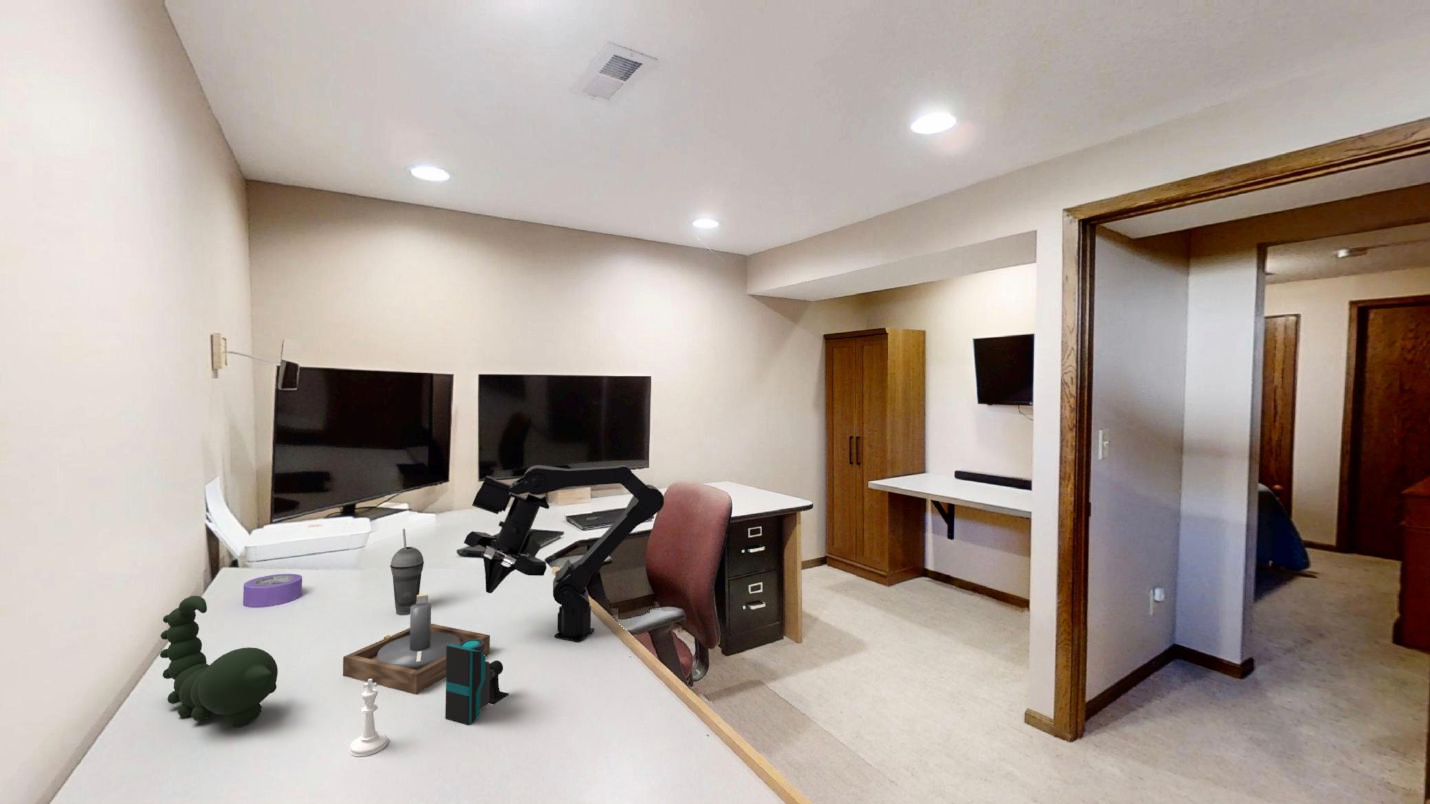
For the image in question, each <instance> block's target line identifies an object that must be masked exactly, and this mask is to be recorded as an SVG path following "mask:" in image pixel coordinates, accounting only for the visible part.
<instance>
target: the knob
mask: <svg viewBox="0 0 1430 804" xmlns="http://www.w3.org/2000/svg"><path fill="white" fill-rule="evenodd" d="M409 617H410V618H409V624H410V625H409V628H410V635H409V636H406V637H402V638H399V639H397V640H394V641H392V642H390V643H388V644H386V645H385V646H383V647H382V648H381V649H380V650H379V651H378V654H377V661H380V662H384V663H389V664H393V665H397V666H401V667H405V668H410V669H414V670H419V669H420V668H422V667H424V666H426V665H428V664H430V663H432V662H434V661H436V660H438V659H439V658H441V657H443V656H445V655H446V645H448V644H453V645H458V646H459V644H460V638H459V637H458V636H456V635H454V634H451V633H445V632H431V624H432V604H431V603H430V602H429V594H428V593H422V594H421V593H420V594H419V595H417V602H416V604H415V605H413V606H411V607H410V614H409Z"/></svg>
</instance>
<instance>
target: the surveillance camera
mask: <svg viewBox="0 0 1430 804" xmlns="http://www.w3.org/2000/svg"><path fill="white" fill-rule="evenodd" d="M503 670H504V665H503V663H502V662H501V661H500V660H493V661H492V662H489V661H487V660H486V655H484V641H483V640H481V639H470V640H466V641H463V642H462V643H460V644H459V646H458V645H453V644H448V645H446V678H445V713H444V714H445V716H444V718H445V720H447V721H452V722H454V723H458V724H460V725H461V724H462V725H464V726H471V725H472V724H473V723H475V721H477V720H478V718H479V717H480V716H481V710H482V709H483V708H485V707H486V706H488V705H489V704H490V705H494V706H495V705H496V704H497V703H499V702H500V701H501V700H503V699H505V698H506V697H507V696H509V693H508V692H506V691H505V692H504V691H502V690H501V689H500V685H499V675H501V674H502V673H503Z"/></svg>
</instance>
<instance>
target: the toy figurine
mask: <svg viewBox="0 0 1430 804" xmlns="http://www.w3.org/2000/svg"><path fill="white" fill-rule="evenodd" d="M207 605H208V604H207V602H206V600H205V598H203V597H202V596H199V595H190V596H188V597H185V598H184V599H182V600H181V601H180V602H179V605H178V607H177V608H174V609H173V610H171V612H170V613H169V614H166V615H164V616H163V618H162V621H163V622H164V623H165V624H167V625H168V626H169V628H168V629H167V630H165V629H164V631H163V632H161V634H160V638H161V639H162V640H166V641H168V642H169V643H170V644H169V645H168V648H166V649H165V648H164V649H163V650H161V651H160V654H159V657H160V658H161V659H169V661H170V663H169V664H168V667H167V668H166V669H164V670H163V673H162V678H164V679H166V680H170V679H172V680H174V681H173V691H171V693H169V694H168V696H167V702H168V704H171V705H175V704H179V703H181V705H179V708H178V710H177V714H178V716H179V717H182V718H183V717H184V718H186V717H189V716H191V718H192V719H193V720H194V721H196V722H202V721H205V720H207V719H208V718H209V717H210V716H211V715H213V713H214V714H216V715H221V716H223V715H224V716H226V721H227V724H228V725H229V726H231V727H234V728H236V727H242V726H244V725H247V724H250V723H251V722H253V721H255V720H256V719H257V718H258V717H259V716H260V714H261V713H262V708H263V707H262V705H261V702H262V701H264V700H265V699H266V698H267V697H268V696H270V695H271V694H272V693H275V691H276V690H277V688H278V687H277V686H278V685H277V680H278V673H279V671H278V670H279V669H278V665H277V661H276V660H275V659H274V657H273V656H272V655H271V654H270V653H268V651H265V650H263V649H261V648H258V647H242V648H238V649H237V648H236V649H233V650H230V651H228V652H226V653H224V654H223V655H220V656H219V657H218V658H216V659H215V660H214V661H213V662H211V663H210V664H208V661H207V657H206V655H205V653H203V652H202V649H203V643H202V640H201V638H199V636H198V635H199V631H200V627H199V624H198V622H197V621H195V620H196V616H197V614H196V611H197V610H198V612H199V613H201V614H205V613H207V612H208V607H207Z"/></svg>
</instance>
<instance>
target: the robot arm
mask: <svg viewBox="0 0 1430 804" xmlns="http://www.w3.org/2000/svg"><path fill="white" fill-rule="evenodd" d="M614 484H615V485H616V484H618V485H622V486H623V488H625V490H627V491H628V492H629V493H630V494H631V495H632V497H631V499H630V500H629V502H628V504H627V506H626V508H625V510H624V511H623V513H622V514H621V515H620V517H618V518H617V519H616V520H615V522H614V523H613V524H611V526H610V527H608V529H607V530H606V531H605V532H604V533H603V534H602V535H601V536H600V537H599V538H598V539H597V541H596V542H595V543H593V545H592V546H591V547H590V548H589V549H588V550H587V551H586V552H585V554H583V556H581V558H579V559H578V560H576V561H574V562H571V560H570V559H567V560H566V561H565V562H564V564H563V566H562V567H561V568H560V569H559V570H556V571H555V575H554V578H553V581H552V597H553V599H554V601H555V603H557V604H558V605H560V606H559V608H558V612H557V619H556V620H557V622H556V623H557V626H556V629H557V632H556V633H555V634H553V635H554V636H553V637H554V638H556V639H561V640H567V641H570V642H571V641H572V642H578V643H579V642H581V641H582V640H584V639H585V638H587V637H589V635H591V634H593V633H594V632H595V628H592V627H591V626H592V620H591V619H592V611H591V610H592V606H591V604H590V603H591V602H590V597H589V592H588V590H587V589H586V587H587V585H588V584H589V582H590V580H591V578H592V576H593V574H594V573H595V572H596V570H598V568H600V566H601V565H602V564H603V563H604V562H605V561H606V560H607V559H608V558H609V557H610V556H611V554H612V553H613V552H615V550H616V549H617V548H618V547H619V546H620V545H621V544H622V543H623V541H625V539H626V538H627V537H628V536H629V535H630V534H631V533H632V532H633V531H634V530H635V529H636V528H637V527H638V526H639V525H641V524H643V523H645V522H646V521H648V520H649V519H651V518H652V517H654V516H655V515H656V514H657V513H659V512H660V511H661V510H662V509H663V507H664V504H665V496H664V495H663V493H662V492H661V490H659V489H658V488H657V487H656V486H654V485H652V484H645V483H644V482H643V481H642V480H641V479H640V478H639V477H638V476H636V474H635V473H634V472H632V470H631V469H630V468H629V467H628V466H627V465H625V464H619V465H614V466H613V465H612V466H610V465H609V466H596V467H595V466H594V467H577V468H575V467H574V468H564V467H556V466H550V465H542V464H541V465H540V464H536V465H532V466H530V467H529V468H528V469H527V470H526V471H525V472H524V475H523V476H522V477H520V478H518V479H517V480H514V481H513V482H512V483H510V484H508V483H506V482H503V481H500V480H498V479H495V478H494V477H492V476H488V475H486V477H485V478H484V480H483V482H482V484H481V485H480V488H479V489H478V491H477V493H476V495H475V496H474V499H473V502H472V505H471V506H472V507H474V508H476V509H477V508H478V509H480V510H484V511H486V512H488V513H489V512H490V513H492V514H494V515H495V514H496V515H499V513H502V512H506V510H507V508H508V506H509V503H510V501H511V499H512V498H513V500H512V503H511V505H510V508H509V510H508V512H507V514H506V517H505V519H504V521H501V520H500V521H499V523H498V527H500V531H499V532H498V535H497V537H495V536H493V535H491V534H489V533H487V532H481V531H473V530H472V531H471V532H469V533H468V534H467V535H466V537H465V539H464V541H463V544H465V545H466V546H469V547H471V548H472V549H473V548H476V547H479V546H480V547H483V548H485V551H484V553H481V555H480V557H481V558H482V559H483V564H484V565H483V566H484V575H485V577H484V579H485V592H486V593H488V594H493V592H494V591H495V590H496V589H497V587H499V586H500V585H501V583H502V582H503V581H504V580H505V579H506V577H508V576H509V575H510V574H511V573H513V572H514V571H518V572H520V573H521V574H524V575H525V576H526V575H527V576H535V577H541V576H545V573H546V571H547V562H546V561H544V560H542V559H540V558H538V557H536V556H537V554H538V553H539V551H540V550H541V548H542V546H541V545H540V544H539V543H538V542H537V541H536V540H534V538H533V536H534V530H532V527H533V524H534V522H535V519H536V517H537V515H538V512H539V510H540V508H543V509H545V510H549V509H550V504H549V503H548V499H547V495H543V494H547V493H553V492H555V491H557V490H561V489H566V488H570V487H572V488H573V487H585V486H599V485H604V486H605V485H614ZM523 494H527V495H526V496H522V495H523ZM536 495H537V496H536ZM540 495H543V496H541V497H539V496H540ZM592 632H593V633H592Z"/></svg>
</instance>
